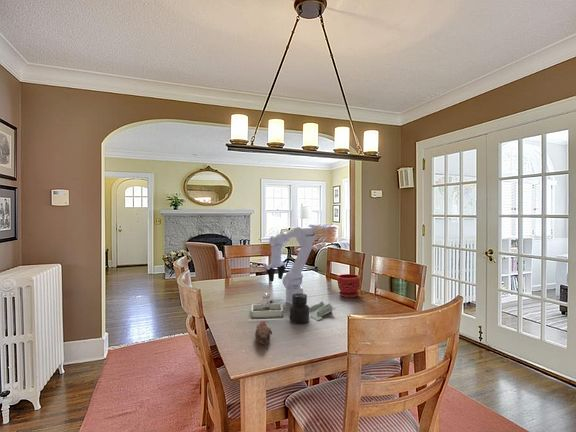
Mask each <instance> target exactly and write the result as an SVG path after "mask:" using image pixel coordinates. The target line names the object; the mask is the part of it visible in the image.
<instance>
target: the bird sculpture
mask: <svg viewBox="0 0 576 432" xmlns="http://www.w3.org/2000/svg"><path fill="white" fill-rule="evenodd" d="M254 335H255V338H256V340H257V342H258V343H260V344H262V345H264V347H265V348H267V343H269V341H270V340H271V335H273V332H272V329H271V328H270V327H268V325H267V324H266V321H261V322H260V323H259V324H258V325H256V329H255V333H254Z"/></svg>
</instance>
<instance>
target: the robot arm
mask: <svg viewBox="0 0 576 432" xmlns="http://www.w3.org/2000/svg"><path fill="white" fill-rule="evenodd" d="M315 237H316V231H315V228H314V227H313V226H300V227H299V226H298V227H294V228H293V229H292V230H290V231H288V232H287V231H280V233H279V234H278V233H277V234H276V235H275V236H274V235H271V236H270V237H269V245H270V246H271V249H270V250H271V251H270V256H271V257H270V258H271V259H270V260H271V261H270V263H269V264H268V265H266V266H265V267H266V268H265V271H266V272H267V275H268V279H269V282H274V279H275V278H274V277H275V272H276V271H277V275H278V276H277V277H278V279H279V280H282V285H283V286H284V288H285V302H286V303H287V304H291V305H292V304H293V303H292V295H293V294H296V293H302V294H304V288H303V286H301V285H302V284H303V278H304V275H303V273H302V272H303V270H304V268H305V265H306V264H307V261H308V258H309V256H310V254H311V251H312V249H313V246H314V240H315ZM292 238H295V239H296V241H297V244H298V245H299V246H300V249H299V251H298V253H297V255H296V258H295V260H294V263H293V265H292V267H291V269H290V270H289V271H287V272H286V274H285V275H284V273H285V271H286V268H287V267H286V262H282V250H283V249H282V248H283V245H284V244H286V243H287V242H290V239H292ZM276 269H277V270H276ZM283 275H284V276H283Z"/></svg>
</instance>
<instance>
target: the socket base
mask: <svg viewBox="0 0 576 432" xmlns="http://www.w3.org/2000/svg"><path fill="white" fill-rule="evenodd" d="M274 303H275V302H274V300H273V299H272V300H271V299H270V304H274ZM259 304H263V301H262V300H260V302H259Z"/></svg>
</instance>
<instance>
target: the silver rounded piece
mask: <svg viewBox="0 0 576 432" xmlns="http://www.w3.org/2000/svg"><path fill="white" fill-rule="evenodd" d="M270 300H271V292H262V294H261V301H263V308H262V309H261V311H272V309H271V308H270Z"/></svg>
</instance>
